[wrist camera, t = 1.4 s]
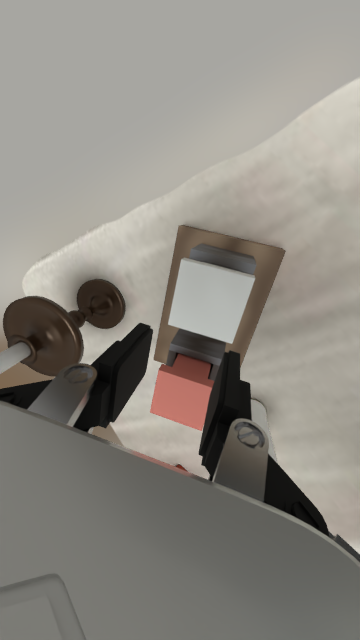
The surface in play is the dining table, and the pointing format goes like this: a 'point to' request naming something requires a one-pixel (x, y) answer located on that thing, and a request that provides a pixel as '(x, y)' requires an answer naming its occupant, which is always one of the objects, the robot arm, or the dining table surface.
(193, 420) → the red plunger
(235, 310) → the grey plunger
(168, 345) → the board
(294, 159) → the dining table surface
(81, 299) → the candlestick
